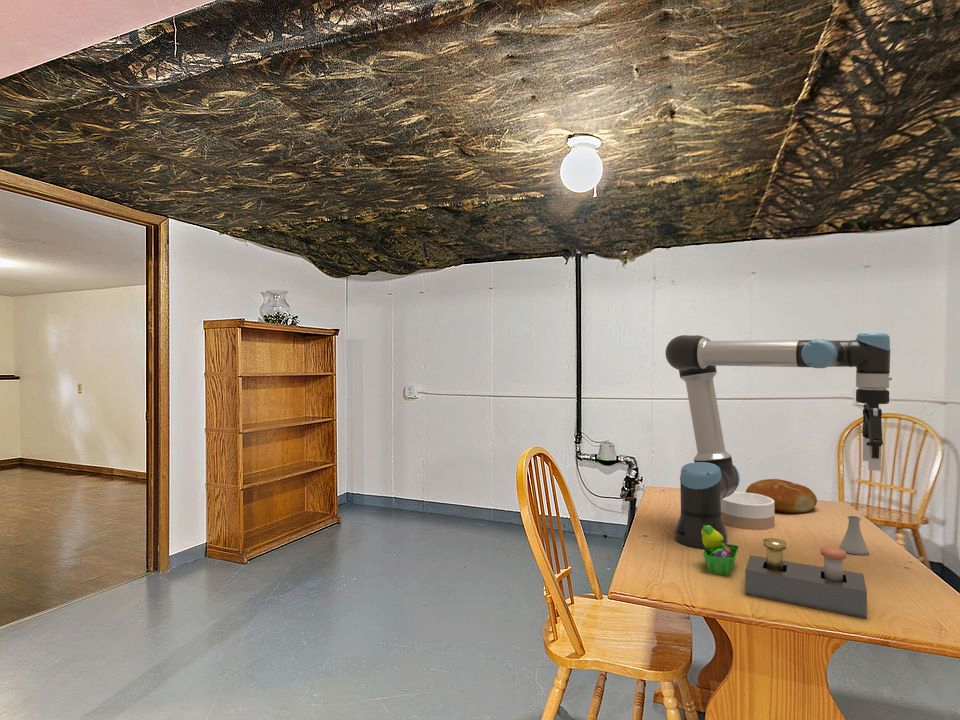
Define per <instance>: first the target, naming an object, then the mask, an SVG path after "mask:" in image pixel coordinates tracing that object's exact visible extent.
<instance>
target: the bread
mask: <svg viewBox="0 0 960 720" xmlns="http://www.w3.org/2000/svg"><path fill="white" fill-rule="evenodd" d="M745 492H746V493H754V494H759V495H764V496H767V497H769V498H772V499H773V500H774V506H775V513H777V512H778V513H786V514H803V513H807V512H809V511H811V510H813V509H814V508H815V507H816V506H817V504H818V503H817V502H818V499H817V496H816V494H815V493H814V492H813V491H812V489H810V488H809V487H807V486H806V485H802V484H799V483H795V482H792V481H788V480H785V479H779V478H767V479H761V480H757V481H755V482H752V483H750V484H749V485H748V486H747V488H746V490H745Z"/></svg>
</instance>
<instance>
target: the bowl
mask: <svg viewBox="0 0 960 720" xmlns="http://www.w3.org/2000/svg"><path fill="white" fill-rule="evenodd" d="M775 513H776V511H775V506H774V500H773V499H772V498H769V497H767V496H764V495H759V494H754V493H746V491H744V492H743V491H734V492H733V494H731V495H730V496H728V497H725V498H723V499H722V500H721V519H722V522H723V525H726V526H730V527H732V528H733V527H734V528H735V529H736V528H737V529H744V530H750V529H752V530H755V531H760V530H769V529H773V528H774V527H775Z"/></svg>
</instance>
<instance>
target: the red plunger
mask: <svg viewBox="0 0 960 720" xmlns="http://www.w3.org/2000/svg"><path fill="white" fill-rule="evenodd" d="M820 555H821V556H822V557H823V560H824V561H823V563H824V579H827V580H833V581H839V582H843V571H844V570H843V569H844V567H843V566H844V563H843V562H844V561H843V560H845V559H847V552H846V551H845V550H843V549H840V547H836V546H827V545H826V546H821V547H820Z"/></svg>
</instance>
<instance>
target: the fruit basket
mask: <svg viewBox="0 0 960 720" xmlns="http://www.w3.org/2000/svg"><path fill="white" fill-rule="evenodd" d="M701 534H702V542H703V544H704V546H705V547H706V548H705V549H704V550H703V551H702V555H703V557H704V560H705V565H706V568H707V572H708V573H714V574H719V575H725V576H730V575H731V572H732V569H733V567H734V565H735V564H734V563H735V561H736V557H737V553H738V551H739V547H740V546H739V545H735V544H731V543H730V544H729V543H727V544H725V543H722V541H723V540H724V538H723V536H722V535H721V534H720V533H719V532H718V531H716V530H715V529H714V528H713V527H712V526H710V525H706V526H705V525H704V526H703V529H702V530H701Z"/></svg>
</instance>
